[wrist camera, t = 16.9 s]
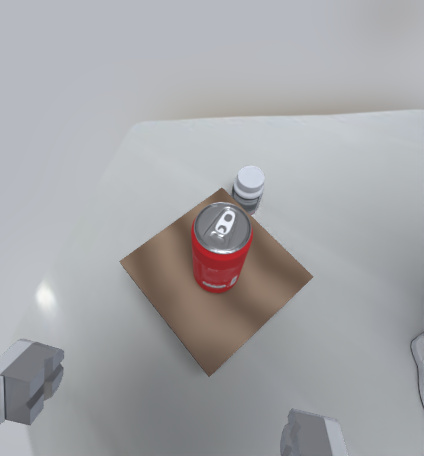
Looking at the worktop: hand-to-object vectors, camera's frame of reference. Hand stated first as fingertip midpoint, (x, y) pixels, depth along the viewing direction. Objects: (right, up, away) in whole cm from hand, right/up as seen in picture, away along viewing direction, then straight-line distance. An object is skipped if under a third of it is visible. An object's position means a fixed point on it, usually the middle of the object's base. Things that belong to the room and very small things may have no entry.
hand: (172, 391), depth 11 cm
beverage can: (+2, 0, +25) cm, 25 cm away
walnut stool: (+1, -4, +35) cm, 36 cm away
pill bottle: (+7, +10, +42) cm, 44 cm away
